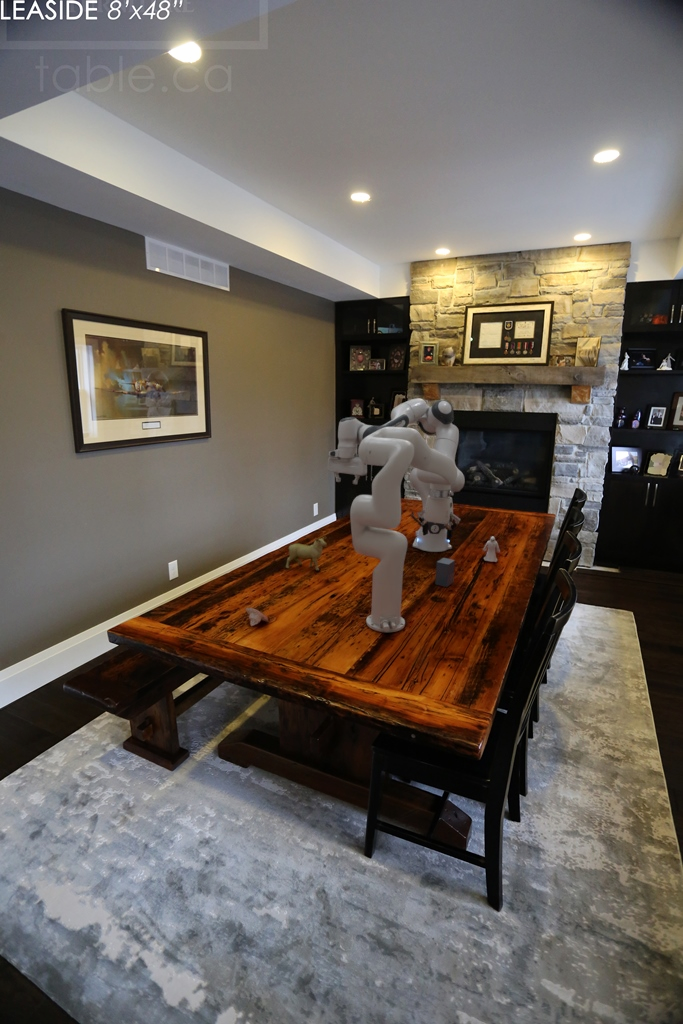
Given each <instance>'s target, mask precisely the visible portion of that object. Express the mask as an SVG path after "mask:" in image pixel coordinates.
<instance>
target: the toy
mask: <svg viewBox="0 0 683 1024" xmlns="http://www.w3.org/2000/svg"><path fill="white" fill-rule="evenodd" d="M325 540H327V536H323V537H321V538H315V540H314V542H313V544H311V545H306V544H302V543H292V544H290V545H289V546H288V553H289V557H288V556H287V558H286V564H285V569H286V570H290V562H292V561H295V562H296V563H297V564H298V566H300V567H302V566H303V564H302V563H303V562H302V561H300V560H310V563H309V567H310V568H314V567H315V571H316V572H320V571H321V570H320V568H319V567H318V560H319V559H320V558H321V557H322V555H323V553H322V552H323V547H327V546H328V544H327V542H326V541H325ZM299 559H300V560H299Z"/></svg>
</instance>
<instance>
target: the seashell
mask: <svg viewBox="0 0 683 1024" xmlns="http://www.w3.org/2000/svg"><path fill="white" fill-rule="evenodd" d="M245 611H246V614H248V615H249V616H248V619H249V625H250V626H251V627H253V626H256V625H258V624H259V623H260V622H261V621H265V622H269V618H268V616H267V615H266V614H264V613H263V612H261V611H260V610H259V609H256V608H253V607H245Z"/></svg>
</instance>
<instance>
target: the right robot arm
mask: <svg viewBox="0 0 683 1024" xmlns="http://www.w3.org/2000/svg"><path fill="white" fill-rule="evenodd" d="M454 420H455V417H454V407H453V405H452V404H451V402H449V400H447V399H443V398H442V399H438V400H436V401H435V402H433V403H432V405H431V406H429V405H428V404H427V402H426V401H425V400H424V399H423V398H420V397H419V398H412V399H410V400H407V401H405V402H402V403H400V404H398V405H396V406H395V407H394V408H392V410H391V412H390V420H389V421H387V422H386V423H384V424H382V425H371V424H366V423H364V422H361V420H359V419H357V418H356V417H354V416H350V417H349V416H348V417H345V418H342V419H340V421H339V422H338V429H337V439H338V444H337V449H334V450H330V451H328V456H329V457H327V466H326V467H327V471H328V472H332V473H333V475H334V478H335V482H337V483H340V482H341V480H342V478H341V477H340V475H339V474H347V475H354V477H355V478H354V479H353V480H352V484H353V485H358V482H359V480H360V477H363V476H366V475H367V474H368V466H367V465H368V464H365V463H363V462H362V461H361V459H360V457H359V454H358V445H360V443H361V442H362V440H363V439H364V438H365V437H367V436H368V435H370V434H372V433H374V432H376V431H377V430H379V429H382V428H384V427H404V428H408V427H409V426H412V425H414V424H415V423H416V424H417V426H418V427H419V429H420V430H421V431H422V432H423V433H424V434H425V435H427V436H432V435H435V438H434V443H433V445H432V449H434V450H436V451H438V452H440V453H442V454H444V455H446V456H448V457H449V458H450V459H451V460H452V461H453V462H454V464H455V466H456V468H457V472H458V475H457V480H456V481H455V483H454V484H452V485H451V486H450V489H451V492H453V493H457V492H461V490H462V489H463V488H464V486H465V482H466V481H465V480H466V479H465V475H464V474H463V472H462V471H461V470H460V469H459V468H458V467H457V465H456V461H455V460H456V453H457V449H458V446H459V440H460V438H459V437H460V433H459V432H460V431H459V428H458V427H457V426H456V425H455V424H453V423H454ZM416 472H417V468H415V467H413V468H412V470H411V472H410V473H409V477H408V478H409V483H410V485H411V487H413V488H414V489H415V490H416V491H417V493H418V495H419V497H420V499H421V504H422V511H423V510H425V506H426V501H427V498H428V496H429V495H430V483H424V482H421V481H420V480H419V479H418V478H417V474H416ZM410 514H411V517H412V518H413V519H414V520H415V521H416V522H418V523H419V525H420V527H419V529H418V530H416V531H415V536H416V537H415V538H414V541H413V543H412V545H411V547H412V548H415V549H419V550H421V551H426V552H430V553H433V552H434V553H438V552H439V553H440V552H446V551H447V550H451V549H453V546H452V545H451V544H450V539H449V540H447V530H448V528H447V526H446V524H439V523H434V522H428V523H427V524H428V534H426V535H423V532H422V529H423V525H422V524H421V522H420V521H419V519H418V518H416V516H415V515H414V511H412V512H411V513H410ZM424 515H425V513H424V514H422V517H423V518H424ZM424 519H425V518H424Z"/></svg>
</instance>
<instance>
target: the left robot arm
mask: <svg viewBox="0 0 683 1024" xmlns="http://www.w3.org/2000/svg"><path fill="white" fill-rule="evenodd" d="M358 445H359V444H358ZM357 454H358V455H359V457H360V459H361V461H362V462H363V463H365V464H367V465H368V466H369V465H370V466H379V467H382V468H381V469H380V470H379V471H378V473H377V474H376V475H375V476H374V478H373V479H372V481H371V482H372V483H371V494H359V495H357V496H356V497H354V499H353V501H352V503H351V506H350V511H349V515H350V517H349V518H350V529H351V531H350V532H351V540H352V547H353V549H354V551H355V553H357V554H358V555H362V556H365V557H369V558H374V559H378V560H379V563H378V564H377V565H376V566H375V567H374V569H373V571H372V585H371V586H372V587H371V607H370V609H371V613H370V615H368V616H367V617H366V621H365V622H366V623H365V624H366V625H367V627H368V628H369V629H372V630H373V631H376V632H379V633H396V632H398V631H402V630H403V629H404V628H405V626H406V620H405V618H403V617H402V615H401V614H402V599H403V598H402V597H403V580H404V579H403V577H404V566H405V559H406V554H407V551H408V539H407V537H406V535H404V534H403V533H402V532H400V531H396V530H394V529H396V528H398V527H399V526H400V524H401V521H402V495H401V494H402V493H401V487H402V486H401V485H402V481H403V478H404V476H405V475H406V473H407V471H408V469H409V467H410V466H411V467H413V468H417V472H416V474H417V478H418V479H419V480H420V481H421V482H424V483H430V495H429V496H428V498H427V501H426V506H425V510H423V509H422V510H421V511H418V512H416V516H417V519H418V520H419V521H420V522H421V524H422V525H423V529H422V532H423V535H426V534H428V524H427V523H428V522H434V523H439V524H446V528H447V540H449V541H450V540H451V539H452V538H453V536H454V535H453V534H454V529H455V528H456V527H458V526H459V524H460V522H461V518H460V517H458V516H457V515H455V514H454V504H453V497H452V496H454V493H455V492H451V489H450V486H451V485H452V484H454V483H455V481H456V480H457V475H458V472H457V468H458V467H457V465H456V463H455V464H454V462H453V461H452V460H451V459H450V458H449V457H448V456H446V455H444V454H442V453H440V452H438V451H436V450H434V449H433V447H430V445H429V444H428V443H427V441H426V440H425V438H424V437H423V436H422V434H421V433H420V432H419V431H418V430H417V429H415V428H412V427H406V428H404V427H384V428H382V429H379V430H377V431H376V432H374V433H372V434H370V435H368V436H367V437H365V438H364V439H363V440H362V442H361V443H360V445H359V446H358V449H357ZM455 465H456V466H455ZM456 467H457V468H456ZM424 513H425V515H424V518H425V519H424V518H423V517H422V515H423V514H424ZM453 520H454V523H453ZM421 524H420V525H421Z"/></svg>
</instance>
